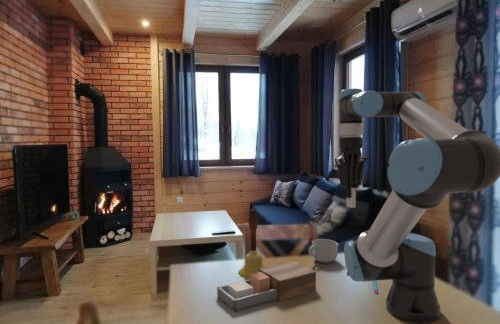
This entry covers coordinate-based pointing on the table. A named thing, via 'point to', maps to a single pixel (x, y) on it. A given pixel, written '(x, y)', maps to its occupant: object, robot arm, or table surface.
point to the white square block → (240, 290)
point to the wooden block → (290, 279)
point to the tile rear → (259, 282)
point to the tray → (245, 298)
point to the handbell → (252, 250)
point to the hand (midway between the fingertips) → (350, 207)
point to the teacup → (324, 250)
